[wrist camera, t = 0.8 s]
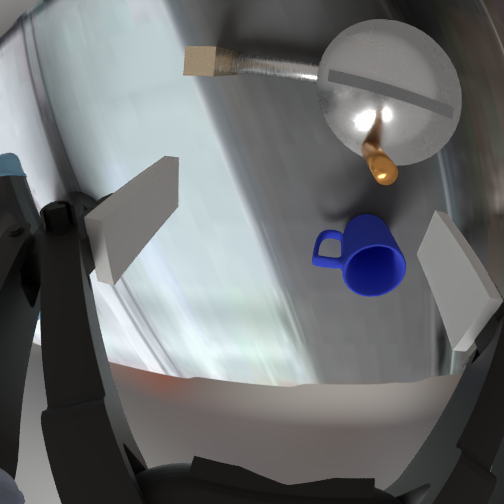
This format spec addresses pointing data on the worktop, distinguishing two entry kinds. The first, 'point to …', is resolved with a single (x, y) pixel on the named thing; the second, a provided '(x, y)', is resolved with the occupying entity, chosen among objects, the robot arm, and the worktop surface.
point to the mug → (365, 256)
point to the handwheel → (389, 94)
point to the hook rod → (243, 64)
